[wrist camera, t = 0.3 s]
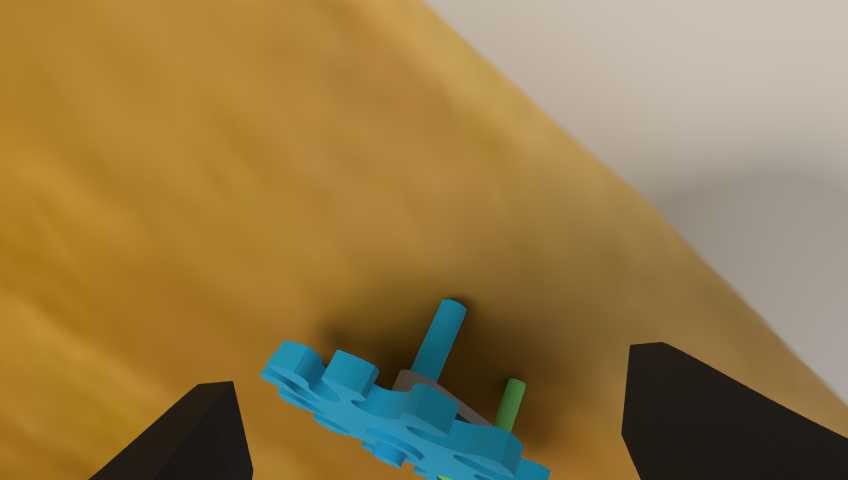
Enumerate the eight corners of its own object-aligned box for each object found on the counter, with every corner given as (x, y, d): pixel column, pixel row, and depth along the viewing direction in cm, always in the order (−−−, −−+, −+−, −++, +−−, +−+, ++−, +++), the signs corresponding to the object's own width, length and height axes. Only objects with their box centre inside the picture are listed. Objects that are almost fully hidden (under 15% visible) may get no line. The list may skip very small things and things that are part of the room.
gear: (206, 375, 19) (358, 400, 11) (293, 244, 21) (462, 192, 14) (415, 498, 23) (621, 575, 16) (463, 378, 26) (658, 394, 19)
